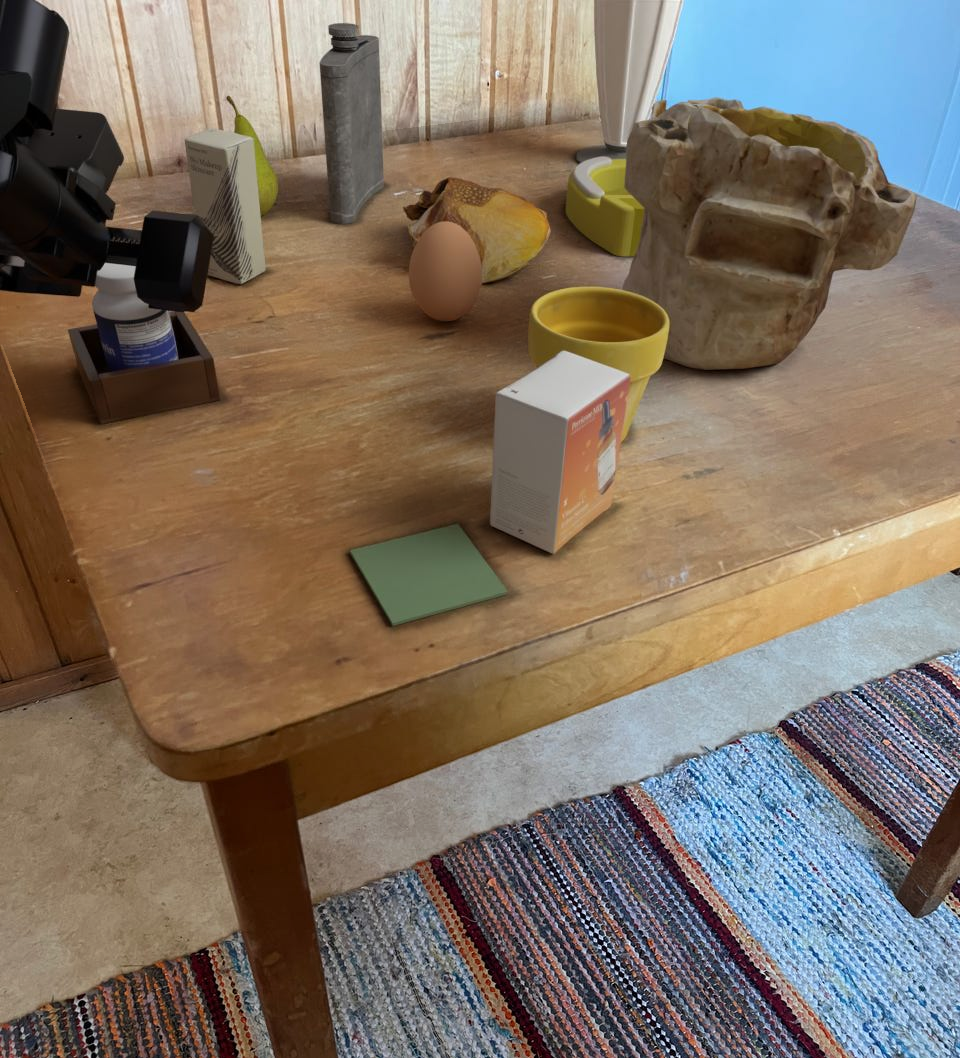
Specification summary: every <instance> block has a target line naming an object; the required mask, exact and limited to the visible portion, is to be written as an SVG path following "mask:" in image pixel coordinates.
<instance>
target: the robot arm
mask: <svg viewBox="0 0 960 1058" xmlns="http://www.w3.org/2000/svg"><path fill="white" fill-rule="evenodd" d="M70 33H71V32H70V29H69V25H68V24H67V22H66V21H65V19H64V18H63V17H62V16H61V15H60V13H59V12H57V11H56V10H54V9H49V7H47V6H46V5H44V4H42V3H41V2H40V1H38V0H0V292H1V291H2V292H10V293H17V294H30V295H31V294H33V295H49V296H64V297H77V298H79V297H81V295H82V291H83V290H82V289H83V287H90V288H96V286H95V282H96V277H97V271H99V270H101V269H102V267H103V266H104V264H105V263H111V264H120V265H128V266H136V268H135V274H134V283H135V288H136V292H137V297H138V298H139V299H140V300H142V301H143V302H144V303H146V304H149V306H148V307H149V308H150V309H158V310H167V311H169V312H185V313H186V312H188V313H195V312H196V311H198V309H200V308H201V307H202V306H203V304H204V297H205V292H206V286H207V280H208V276H209V275H208V269H209V263H210V257H211V251H212V245H213V239H214V235H213V234H212V232H211V231H210V229H209V228H208V227H207V226H206V224H205V223H204V222H203V221H202V220H201V219H200V217H199V216H198V215H195V214H192V213H191V214H189V213H182V212H172V211H162V210H154V209H153V210H151V211H150V212H148V213H147V214H146V215H144V217H143V222H142V228H141V229H132V228H123V227H115V226H106V224H107V221H113V220H114V216H115V209H116V204H117V203H116V202H115V201H114V200H113V199H112V197H110V196H109V195H108V192H109V189H110V188H111V185H112V184H113V182H114V179H115V176H116V174H117V172H118V169H119V167H122V166H123V164H124V160H125V155H124V153H123V151H122V149H121V147H120V145H119V142H118V141H117V138H116V136H115V134H114V132H113V130H112V127H111V125H110V123H109V121H108V118H107V116H105V115H104V114H103V113H101V112H97V111H88V110H87V111H86V110H77V109H65V108H57V107H58V101H59V95H60V90H61V84H62V79H63V73H64V68H65V67H64V66H65V62H66V56H67V51H68V44H69V39H70Z"/></svg>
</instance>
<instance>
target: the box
mask: <svg viewBox="0 0 960 1058" xmlns="http://www.w3.org/2000/svg"><path fill="white" fill-rule="evenodd" d="M184 146H185V147H184V148H185V153H186V160H187V168H188V176H189V181H190V189H191V190H190V191H191V196H192V197H191V198H192V205H193V212H194V215H198V216H199V217H200V219H201V220H202V221H203V222H204V223H205V224H206V226H207V227H208V228H209V229H210V231H211V232H212V234H213V235H214V239H213V245H212V251H211V257H210V263H209V269H208V275H207V276H210V277H214V278H217V279H220V280H223V281H226V282H230V283H233V284H236V285H243V284H245V283H246V282H249V281H250V280H252V279H254V278H256V277H257V276H259V275H261V274H262V273H265V271H267V269H266V261H265V260H266V259H265V247H264V246H265V245H264V238H263V226H262V216H261V215H260V205H259V194H258V183H257V173H256V162H255V150H254V139H253V138H251V137H249V136H244V135H240V134H237V133H234V131H230V130H229V131H228V130H222V129H218V128H214V127H211V128H208V129H205V130H202V131H200V132H197V133H195V134H192V135H190V136H187V137H185V138H184Z"/></svg>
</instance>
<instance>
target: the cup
mask: <svg viewBox="0 0 960 1058" xmlns="http://www.w3.org/2000/svg"><path fill="white" fill-rule="evenodd" d="M684 2H685V0H593V31H594V32H593V33H594V53H595V55H594V56H595V57H594V58H595V75H596V86H597V88H596V89H597V98H598V99H597V101H598V109H599V116H600V123H601V129H602V130H601V131H602V136H603V142H604V145H595V146H589V147H586V148H583V149H581V150H580V151H579V152H577V153H576V161H577V162H578V164H580V163H582V162H584V161H586V160H589V159H592V158H596V157H602V156H603V157H609V158H610V159H626V146H627V140H628V138H629V135H630V133H631V131H632V128H633V125H634V123H636V122H639V121H644V120H649V119H651V116H652V107H653V104H654V103H656V100H657V98H658V94H659V91H660V88H661V85H662V82H663V79H664V75H665V72H666V70H667V69H666V68H667V65H668V61H669V59H670V54H671V51H672V48H673V45H674V41H675V37H676V33H677V30H678V25H679V22H680V18H681V14H682V10H683V6H684Z"/></svg>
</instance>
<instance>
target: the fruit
mask: <svg viewBox="0 0 960 1058" xmlns="http://www.w3.org/2000/svg"><path fill="white" fill-rule="evenodd" d="M225 99H226V101H227V102H228V103H229V104H230V105H231V107H232V108H233V110H234V112H235V117H234V131H233V132H234V133H237V134H240V135H244V136H249V137H251V138H253V139H254V150H255V162H256V173H257V183H258V194H259V205H260V215H261V217H264V216H265V215H266V214H267V213H268V212H269V211H270V210H271V208H272V207H273V206H274V204H275V202H276V200H277V197H278V194H279V183H278V178H277V175H276V172H275V170H274V169H273V166H272V165H271V164H270V162H269V160H268V158H267V156H266V154H265V151H264V149H263V146H262V143H261V141H260V138H259V135H257V133H256V131H255V129H254V127H253V126H252V124H251V123H250V122H249V119H247V117H245V116H244V115H242V114H240V113H239V110H238V108H237V106H236V104H235V102H234V100H233V99H232V97H231V96H230V95H227V96H226V98H225Z"/></svg>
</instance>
